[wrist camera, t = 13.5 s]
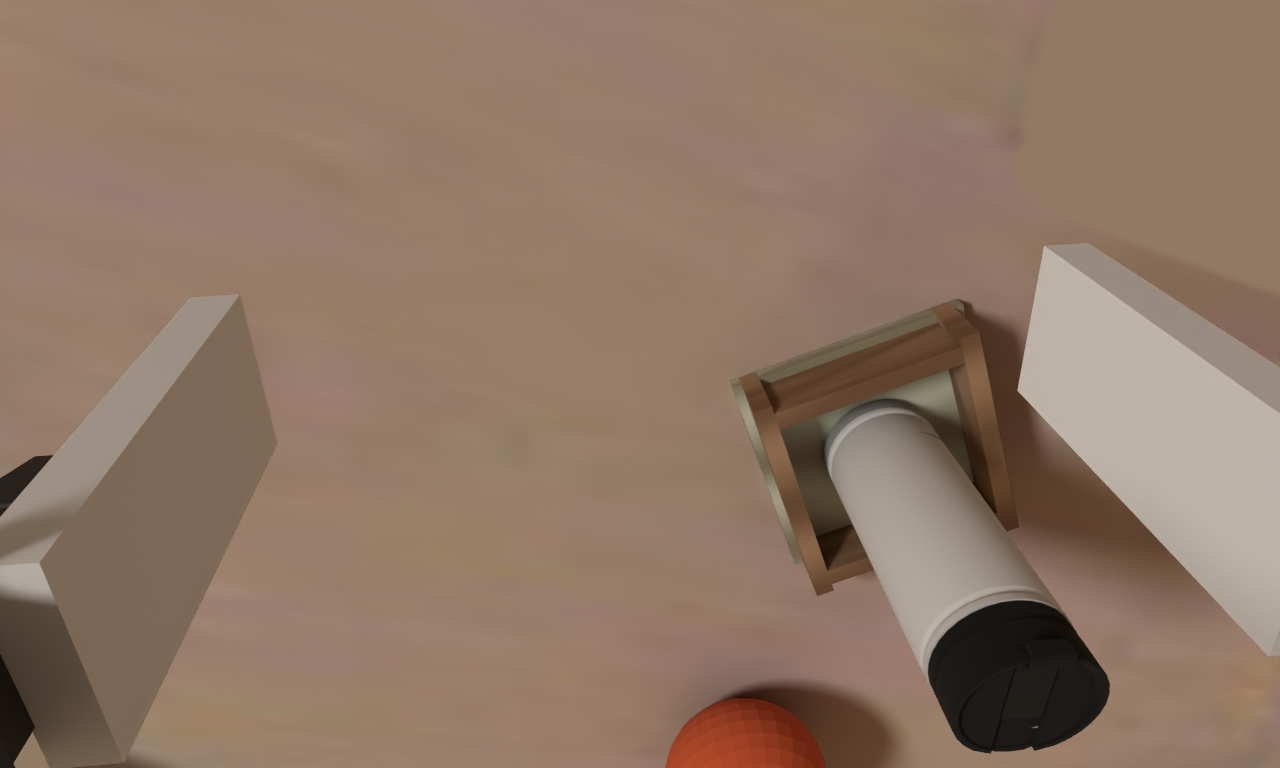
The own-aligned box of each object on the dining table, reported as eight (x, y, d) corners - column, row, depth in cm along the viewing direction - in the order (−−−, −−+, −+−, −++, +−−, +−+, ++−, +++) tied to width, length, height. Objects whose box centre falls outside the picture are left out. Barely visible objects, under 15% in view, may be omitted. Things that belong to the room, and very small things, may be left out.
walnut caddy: (730, 381, 51) (744, 416, 48) (957, 298, 50) (988, 328, 47) (792, 556, 57) (809, 598, 53) (996, 485, 56) (1027, 524, 53)
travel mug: (939, 389, 52) (1140, 647, 34) (921, 488, 55) (1097, 772, 37) (828, 393, 51) (973, 657, 33) (817, 493, 54) (944, 782, 37)
